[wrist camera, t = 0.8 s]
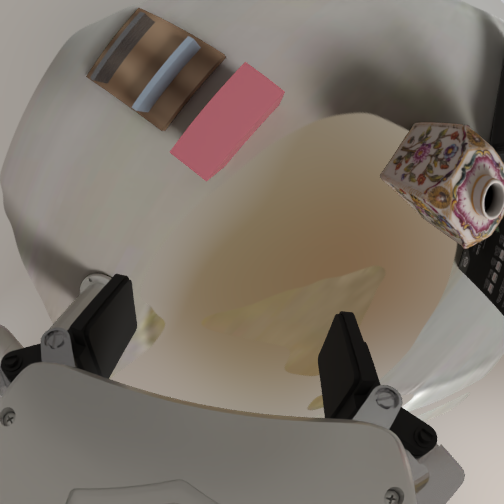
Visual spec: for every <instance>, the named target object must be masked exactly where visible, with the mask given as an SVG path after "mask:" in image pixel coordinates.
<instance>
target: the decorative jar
mask: <svg viewBox="0 0 504 504" xmlns="http://www.w3.org/2000/svg"><path fill="white" fill-rule="evenodd" d="M380 177H381V179H382V180H383V181H384V182H385V183H386V184H388V185H389V186H390V187H391V188H392V189H393V190H394V191H395V192H397V194H399V195H400V196H401V197H402V198H403V199H404V200H405V201H406V202H407V203H408V204H409V205H410V206H411V207H412V208H413V209H414V210H415V211H416V212H417V213H418V214H419V215H420V216H421V217H422V218H423V219H425V220H426V221H428V222H429V223H430V224H432V225H433V226H434V227H436V228H437V229H439V230H440V231H442V232H443V233H444V234H446V235H447V236H449V237H450V238H452V239H453V240H455V241H456V242H457V243H459V244H460V245H461V246H462V247H463V248H464V249H467V248H469V247H472V246H474V245H475V244H477V243H479V242H481V241H482V240H484V239H486V238H488V237H489V236H491V235H492V233H493V232H494V230H495V229H496V227H497V226H498V224H499V223H500V221H501V219H502V218H503V216H504V164H503V162H502V160H501V158H500V156H499V155H498V154H497V152H496V151H495V149H494V148H493V147H492V146H491V145H490V144H489V143H488V142H486V141H485V140H484V139H483V138H481V136H480V135H478V134H477V133H476V132H474V131H473V130H472V129H471V128H470V127H469V126H468V125H463V124H449V123H434V122H420V123H414V125H413V126H412V128H411V130H410V131H409V132H408V134H407V135H406V137H405V139H404V140H403V141H402V143H401V144H400V146H399V147H398V149H397V151H396V152H395V154H394V155H393V157H392V158H391V160H390V161H389V163H388V164H387V165H386V167H385V168H384V170H383V171H382V173H381V174H380Z"/></svg>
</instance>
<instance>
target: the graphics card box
mask: <svg viewBox="0 0 504 504" xmlns="http://www.w3.org/2000/svg"><path fill="white" fill-rule="evenodd" d="M459 269H460V270H461V271H462V272H463V273H464V274H465V275H466V276H467V277H468V278H469V279H470V280H471V281H472V282H473V283H474V284H475V285H476V286H477V287H478V288H479V289H480V290H481V291H482V292H483V293H484V294H485V295H486V296H487V298H488V299H489V300H490V301H491V302H492V303H493V304H494V305H495V306H496V307H497V309H498V310H499V311H500V312H501V313H502V314H503V315H504V216H503V218H502V219H501V221H500V223H499V224H498V226H497V227H496V229H495V230H494V232H493V233H492V235H491V236H489V237H488V238H486V239H484V240H482V241H481V242H479V243H477V244H475V245H474V246H472V247H469V248H467V249H464V251H463V254H462V257H461V261H460V264H459Z"/></svg>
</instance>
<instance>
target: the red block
mask: <svg viewBox="0 0 504 504" xmlns="http://www.w3.org/2000/svg"><path fill="white" fill-rule="evenodd" d="M284 93H285V92H284V91H283V90H282V89H281V88H279V87H278V86H277V85H276V84H274V83H273V82H272V81H270V80H269V79H268V78H267V77H265V76H264V75H263V74H261V73H260V72H258V71H257V70H256V69H254V68H253V67H252V66H250V65H249V64H247V63H246V62H245V63H244V64H243V65H242V66H241V67H240V68H239V69H238V70H237V71H236V72H235V73H234V74H233V75H232V76H231V78H230V79H229V80H228V81H227V82H226V83H225V84H224V85H223V86H222V87H221V89H220V90H219V91H218V92H217V93H216V94H215V95H214V97H213V98H212V99H211V100H210V101H209V102H208V104H207V105H206V106H205V107H204V108H203V110H202V111H201V112H200V113H199V114H198V116H197V117H196V118H195V119H194V121H193V122H192V123H191V124H190V126H189V127H188V128H187V130H186V131H185V132H184V133H183V135H182V136H181V137H180V139H179V140H178V141H177V143H176V144H175V145H174V147H173V148H172V150H171V151H170V153H171V154H172V155H174V156H175V157H176V158H178V159H179V160H180V161H181V162H183V163H184V164H185V165H186V166H188V167H189V168H190V169H192V170H193V171H194V172H195V173H197V174H198V175H199V176H200V177H202V178H203V179H204V180H205V181H208V180H209V179H210V178H211V177H212V176H214V175H215V174H216V173H217V172H219V171H220V170H221V169H223V168H224V167H225V165H226V164H227V163H228V162H229V161H230V160H231V158H232V157H233V156H234V155H235V154H236V152H237V151H238V150H239V149H240V148H241V147H242V145H243V144H244V143H245V142H246V141H247V140H248V139H249V137H250V136H251V135H252V134H253V133H254V132H255V131H256V130H257V129H258V127H259V126H260V125H261V124H262V123H263V122H264V121H265V120H266V119H267V118H268V116H269V115H270V114H271V113H272V112H273V111H274V110H275V109H276V108H277V107H278V106H279V104H280V102H281V100H282V97H283V95H284Z"/></svg>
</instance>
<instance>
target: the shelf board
mask: <svg viewBox="0 0 504 504" xmlns="http://www.w3.org/2000/svg"><path fill="white" fill-rule="evenodd" d="M140 11H141V12H143V13H145V14H146V15H147V16H149V17H150V18H151V19H152V20H153V21H154V22H155V23H154V24H153V25H152V26H151V28H150V29H149V30H148V31H147V32H146V33H145V34H144V36H143V37H142V38H141V39H140V40H139V42H138V43H137V44H136V45H135V46H134V48H133V49H132V50H131V52H130V53H129V54H128V55H127V57H126V58H125V59H124V61H123V62H122V63H121V65H120V66H119V68H118V69H117V70H116V72H115V73H114V75H113V76H112V78H111V79H110V81H109V82H108V84H107V83H103V82H98V81H93V80H92V79H90V77H91V75H92V74H93V72H94V70H95V69H96V67H97V66H98V65H99V63H100V62H101V60H102V59H103V57H104V56H105V54H106V53H107V52H108V50H109V49H110V48H111V46H112V45H113V44H114V42H115V41H116V40H117V38H118V37H119V36H120V35H121V33H122V32H123V31H124V30H125V29H126V27H127V26H128V25H129V24H130V23H131V21H132V20H133V19H134V18H135V17H136V16H137V15H138V14H139V12H140ZM188 36H189V37H191V38H193V39H194V40H195V41H196V42H197V43H198V45H199V46H200V47H201V48H200V49H199V51H198V52H197V53H196V54H195V55H194V56H193V57H192V58H191V59H190V61H189V62H188V63H187V64H186V65H185V66H184V67H183V69H182V70H181V71H180V72H179V73H178V75H177V76H176V77H175V78H174V79H173V81H172V82H171V83H170V84H169V86H168V87H167V88H166V89H165V91H164V92H163V93H162V95H161V96H160V97H159V99H158V100H157V101H156V103H155V104H154V105H153V107H152V108H151V109H150V111H149V112H141V111H136V110H134V109H133V108H132V106H133V104H134V103H135V101H136V100H137V98H138V97H139V95H140V94H141V93H142V91H143V90H144V89H145V87H146V86H147V85H148V83H149V82H150V81H151V79H152V78H153V77H154V75H155V74H156V73H157V72H158V70H159V69H160V68H161V67H162V65H163V64H164V63H165V62H166V61H167V59H168V58H169V57H170V56H171V55H172V54H173V52H174V51H175V50H176V49H177V48H178V47H179V46H180V44H181V43H182V42H183V41H184V40H185V39H186V38H187V37H188ZM225 58H226V56H225V55H224V54H223V53H221V52H220V51H218V50H216V49H215V48H213V47H212V46H210V45H208V44H207V43H205V42H203V41H202V40H200V39H198V38H197V37H195V36H193V35H192V34H190V33H188V32H186V31H184V30H183V29H181V28H179V27H177V26H175V25H173V24H171V23H169V22H168V21H166V20H164V19H162V18H160V17H157V16H155V15H153V14H151V13H149V12H147V11H145V10H143V9H140V8H138V9H137V10H136V11H135V13H134V14H133V15H132V16H131V17H130V18H129V19H128V20H127V22H126V23H125V24H124V25H123V26H122V28H121V29H120V30H119V31H118V33H117V34H116V35H115V36H114V38H113V39H112V40H111V42H110V43H109V44H108V46H107V47H106V48H105V50H104V51H103V52H102V54H101V55H100V57H99V58H98V60H97V61H96V62H95V64H94V65H93V67H92V68H91V70H90V72H89V73H88V75H87V76H86V77H87V78H89V79H90V80H92V81H93V82H95V83H96V84H98V85H99V86H101V87H102V88H103V89H105V90H106V91H108V92H109V93H111V94H112V95H113V96H115V97H116V98H118V99H119V100H120V101H122V102H123V103H125V104H126V105H127V106H129V107H130V108H132V109H133V110H134V111H136V112H137V113H138V114H140V115H141V116H143V117H144V118H145V119H147V120H148V121H149V122H151V123H152V124H153V125H155V126H156V127H157V128H159V129H160V130H161V131H165V130H166V129H167V128H168V126H169V125H170V123H171V122H172V121H173V119H174V118H175V117H176V116H177V114H178V113H179V112H180V110H181V109H182V108H183V107H184V105H185V104H186V103H187V102H188V100H189V99H190V98H191V97H192V95H193V94H194V93H195V92H196V91H197V89H198V88H199V87H200V86H201V85H202V84H203V82H204V81H205V80H206V79H207V78H208V77H209V76H210V75H211V73H212V72H213V71H214V70H215V69H216V68H217V67H218V66H219V65H220V64H221V63H222V61H223V60H224V59H225Z"/></svg>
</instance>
